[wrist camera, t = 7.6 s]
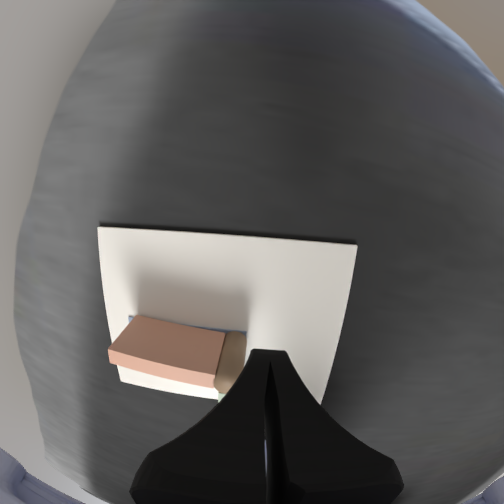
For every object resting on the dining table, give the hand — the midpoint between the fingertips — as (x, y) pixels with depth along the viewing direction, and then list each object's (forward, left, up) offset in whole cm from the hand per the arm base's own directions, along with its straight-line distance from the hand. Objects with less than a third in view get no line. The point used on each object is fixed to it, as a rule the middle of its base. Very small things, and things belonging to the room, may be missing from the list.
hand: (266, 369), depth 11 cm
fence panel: (-5, +6, -9) cm, 12 cm away
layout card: (-4, +3, -10) cm, 11 cm away
